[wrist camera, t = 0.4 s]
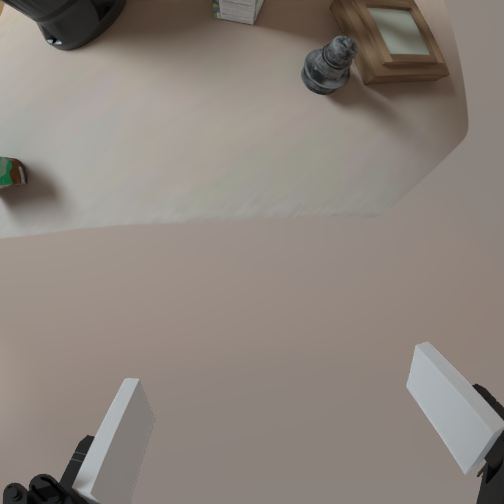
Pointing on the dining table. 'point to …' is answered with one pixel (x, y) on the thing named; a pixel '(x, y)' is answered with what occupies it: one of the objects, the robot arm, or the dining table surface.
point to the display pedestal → (390, 40)
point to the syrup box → (237, 10)
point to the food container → (11, 173)
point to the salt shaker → (329, 65)
